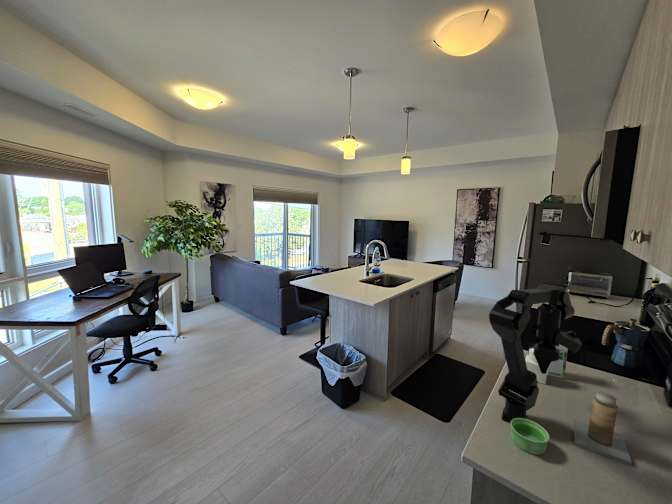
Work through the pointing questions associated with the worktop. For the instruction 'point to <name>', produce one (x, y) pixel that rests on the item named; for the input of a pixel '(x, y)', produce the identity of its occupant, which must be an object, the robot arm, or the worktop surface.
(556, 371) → the syrup box
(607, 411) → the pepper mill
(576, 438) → the slate trivet
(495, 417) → the worktop surface
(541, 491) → the worktop surface
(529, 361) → the medicine bottle
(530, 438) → the ramekin
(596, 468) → the worktop surface
